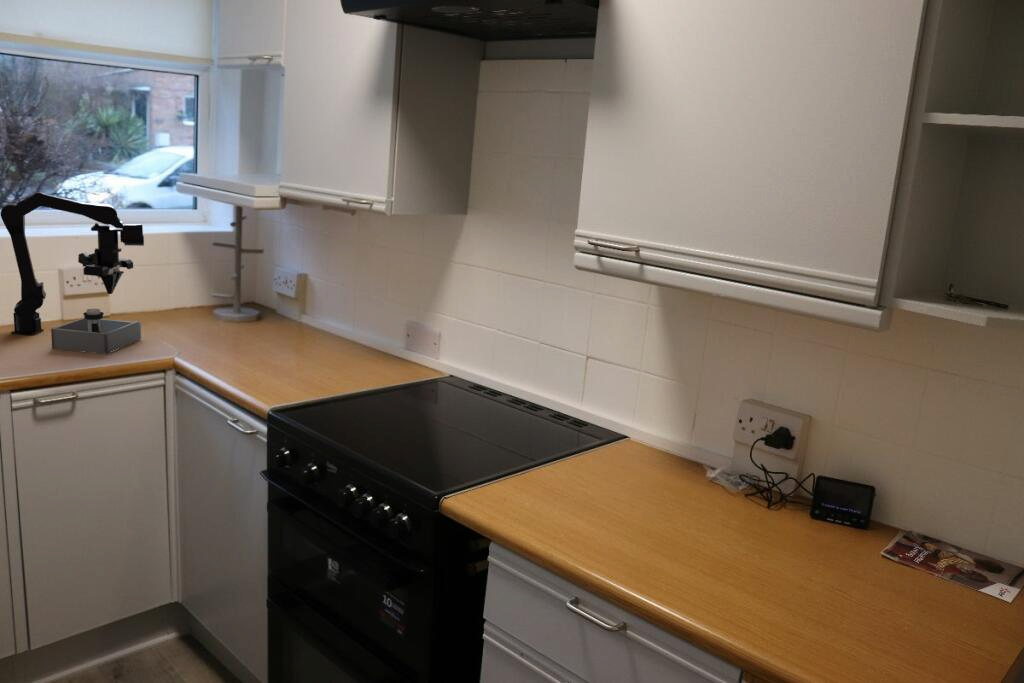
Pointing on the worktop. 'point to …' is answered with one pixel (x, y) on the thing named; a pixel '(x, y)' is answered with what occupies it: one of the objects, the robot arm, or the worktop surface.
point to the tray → (113, 325)
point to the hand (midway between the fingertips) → (110, 293)
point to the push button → (93, 319)
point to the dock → (92, 337)
